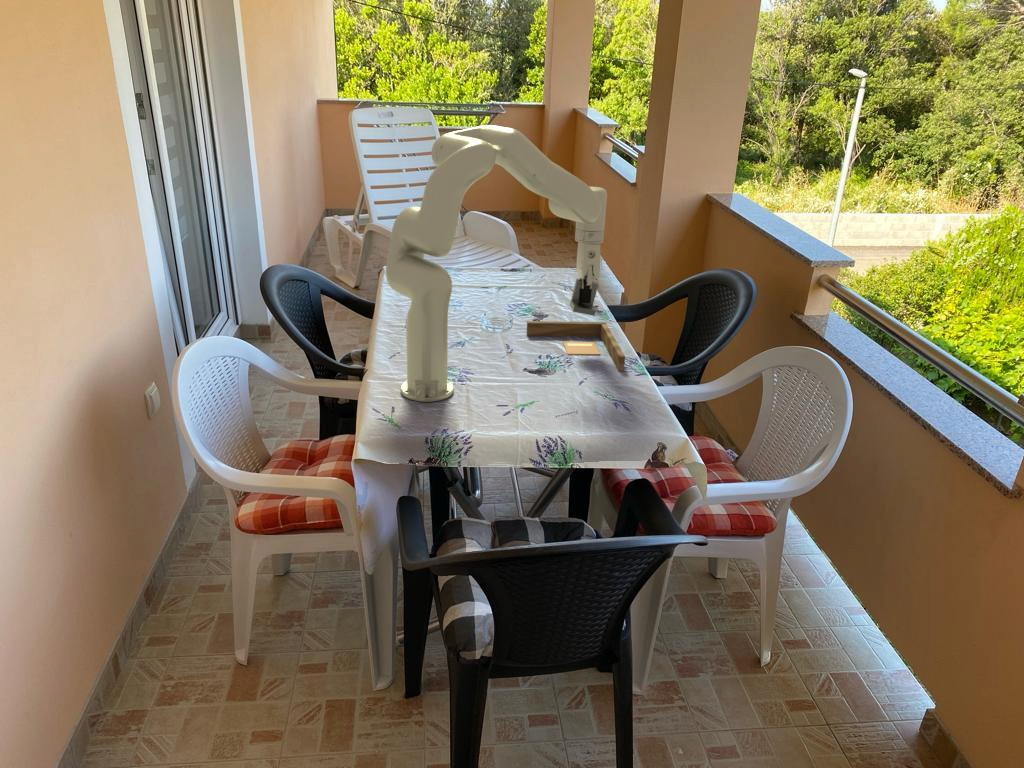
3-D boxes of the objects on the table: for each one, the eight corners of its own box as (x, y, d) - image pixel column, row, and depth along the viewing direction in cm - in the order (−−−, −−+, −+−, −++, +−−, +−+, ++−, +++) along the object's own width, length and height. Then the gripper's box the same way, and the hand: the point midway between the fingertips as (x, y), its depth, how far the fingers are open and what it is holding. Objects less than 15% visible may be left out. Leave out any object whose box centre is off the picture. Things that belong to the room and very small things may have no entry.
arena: (623, 370, 194) (625, 356, 192) (536, 370, 192) (537, 355, 190) (604, 335, 218) (605, 322, 216) (526, 334, 216) (527, 321, 214)
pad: (599, 355, 203) (600, 353, 203) (567, 354, 202) (567, 353, 202) (594, 343, 211) (594, 341, 211) (562, 342, 211) (562, 341, 210)
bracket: (590, 308, 205) (597, 282, 202) (594, 315, 200) (601, 289, 197) (569, 304, 204) (576, 278, 201) (573, 311, 199) (580, 285, 196)
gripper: (609, 242, 189) (602, 311, 197) (598, 228, 203) (592, 293, 211) (580, 242, 189) (574, 310, 196) (570, 228, 203) (566, 292, 210)
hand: (584, 301), depth 204 cm, fingers closed on bracket, 1 cm apart
